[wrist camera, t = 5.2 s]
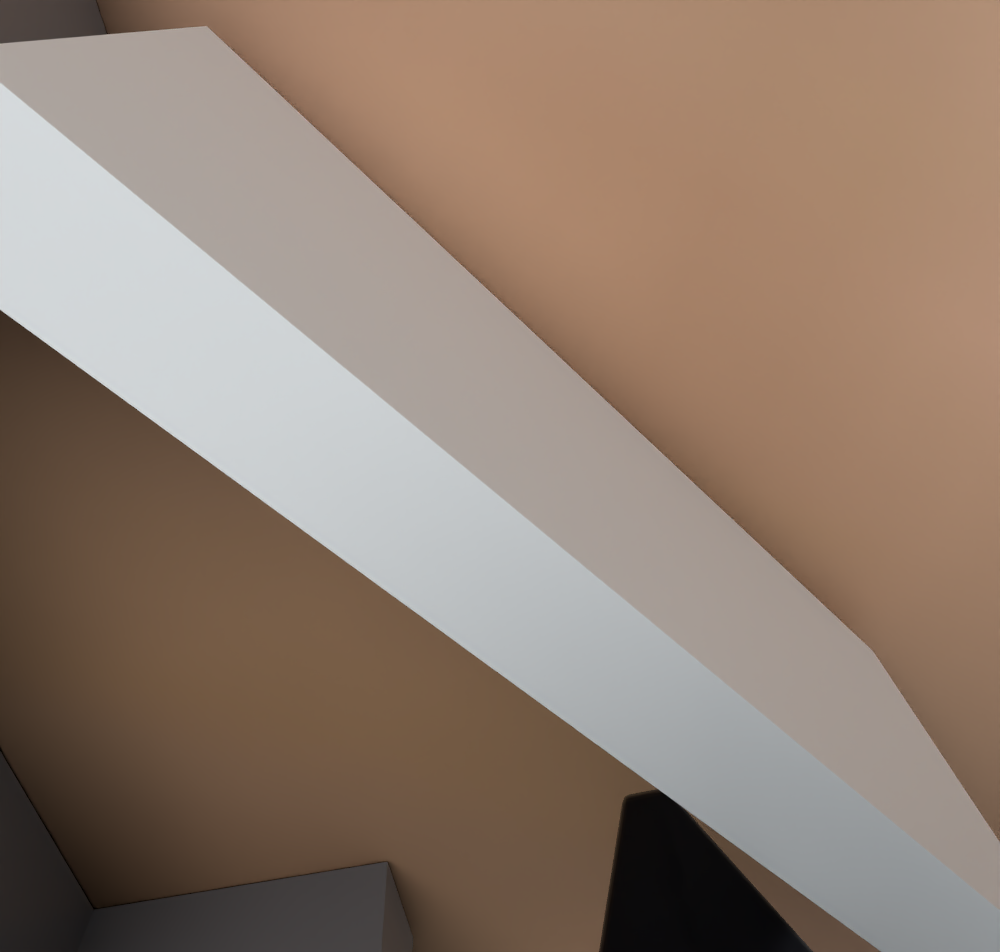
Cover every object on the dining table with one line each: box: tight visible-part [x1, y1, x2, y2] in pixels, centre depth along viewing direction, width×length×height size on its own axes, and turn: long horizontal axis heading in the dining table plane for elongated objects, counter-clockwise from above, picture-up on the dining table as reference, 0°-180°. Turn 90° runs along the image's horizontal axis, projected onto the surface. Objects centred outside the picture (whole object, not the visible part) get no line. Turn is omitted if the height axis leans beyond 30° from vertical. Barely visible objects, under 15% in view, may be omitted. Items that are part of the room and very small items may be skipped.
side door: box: [0, 26, 1000, 952], centre depth 9 cm, size 11×1×5 cm, turn 46°
